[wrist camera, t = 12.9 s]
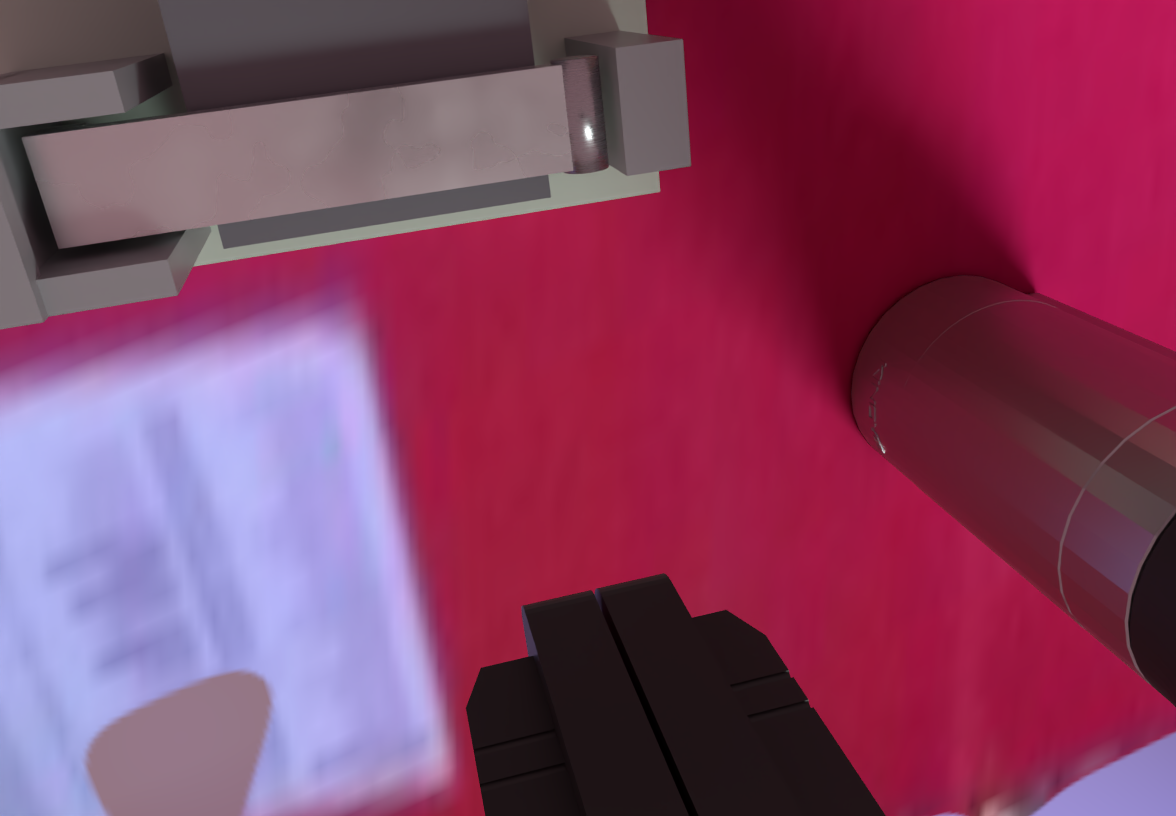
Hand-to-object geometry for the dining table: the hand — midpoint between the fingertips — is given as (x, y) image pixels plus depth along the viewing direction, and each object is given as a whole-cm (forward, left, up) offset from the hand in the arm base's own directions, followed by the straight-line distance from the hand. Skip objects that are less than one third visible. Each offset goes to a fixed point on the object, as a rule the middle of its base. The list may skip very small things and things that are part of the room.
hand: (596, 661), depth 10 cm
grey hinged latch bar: (+2, -3, -23) cm, 23 cm away
